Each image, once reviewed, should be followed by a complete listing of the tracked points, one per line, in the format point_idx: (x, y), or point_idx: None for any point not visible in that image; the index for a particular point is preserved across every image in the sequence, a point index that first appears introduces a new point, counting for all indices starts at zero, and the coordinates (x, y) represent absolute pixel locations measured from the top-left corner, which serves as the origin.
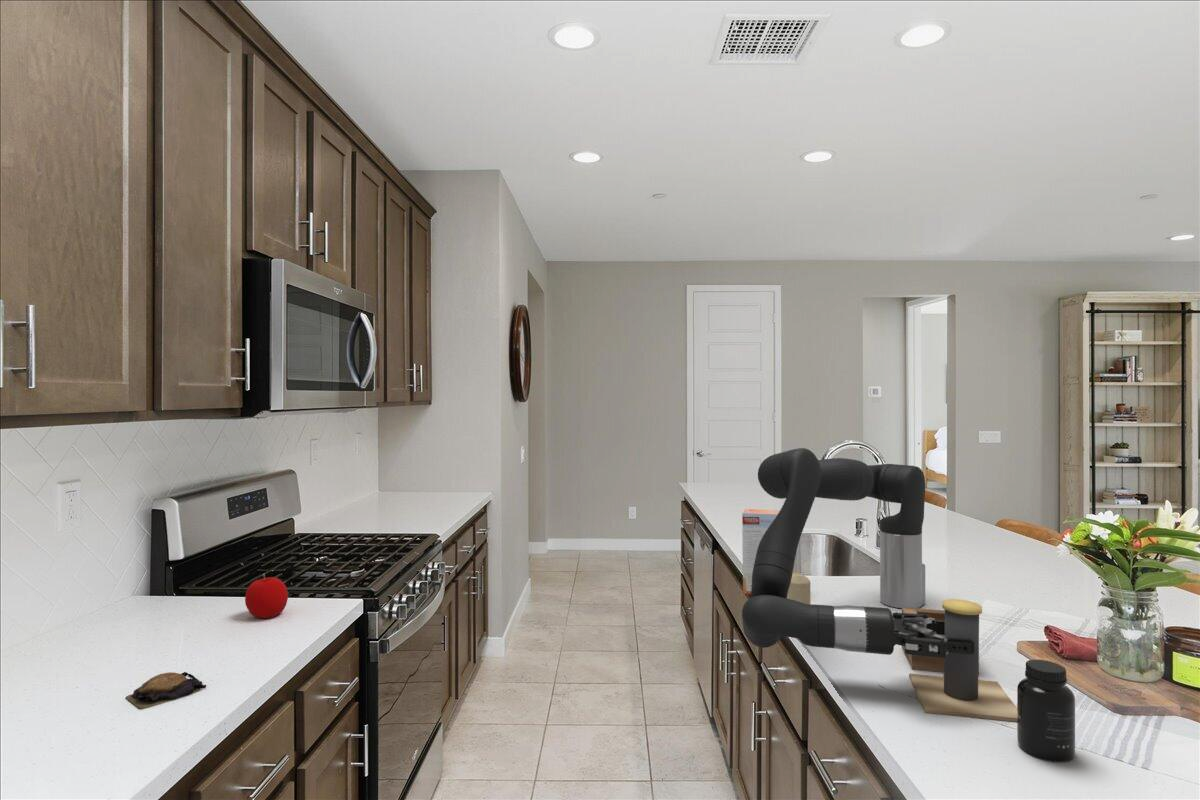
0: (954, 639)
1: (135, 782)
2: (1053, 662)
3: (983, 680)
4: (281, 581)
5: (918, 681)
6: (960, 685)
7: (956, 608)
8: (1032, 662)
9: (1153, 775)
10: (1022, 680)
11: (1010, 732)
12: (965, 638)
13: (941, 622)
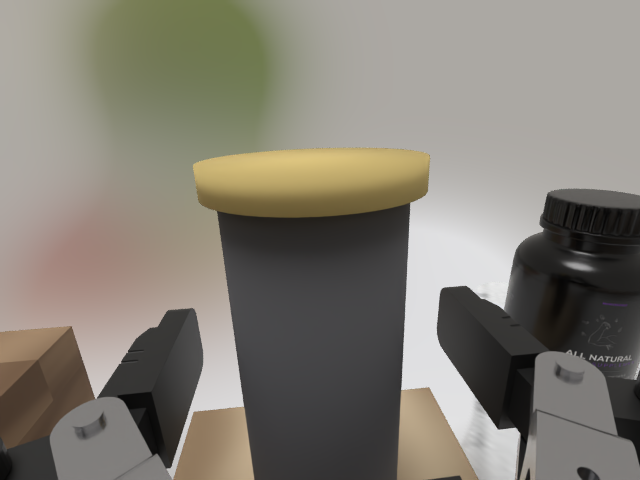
0: (515, 333)
1: None
2: (552, 192)
3: (186, 444)
4: None
5: None
6: None
7: (429, 158)
8: (608, 204)
9: (502, 293)
10: (610, 268)
11: (517, 431)
12: (456, 298)
13: (162, 372)
